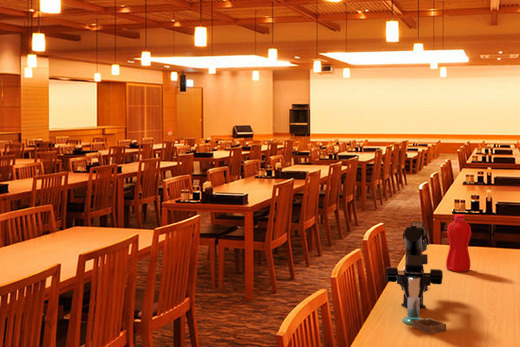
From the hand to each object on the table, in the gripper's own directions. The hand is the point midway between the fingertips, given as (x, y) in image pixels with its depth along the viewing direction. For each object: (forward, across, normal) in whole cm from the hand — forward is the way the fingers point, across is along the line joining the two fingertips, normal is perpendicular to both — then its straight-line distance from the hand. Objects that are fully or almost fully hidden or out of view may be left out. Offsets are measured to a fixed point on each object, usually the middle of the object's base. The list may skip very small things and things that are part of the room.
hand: (413, 297), depth 216 cm
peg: (+4, 0, +6) cm, 7 cm away
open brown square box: (+10, +5, +3) cm, 11 cm away
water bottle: (-49, +21, +63) cm, 83 cm away
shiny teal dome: (+5, 0, +7) cm, 9 cm away
